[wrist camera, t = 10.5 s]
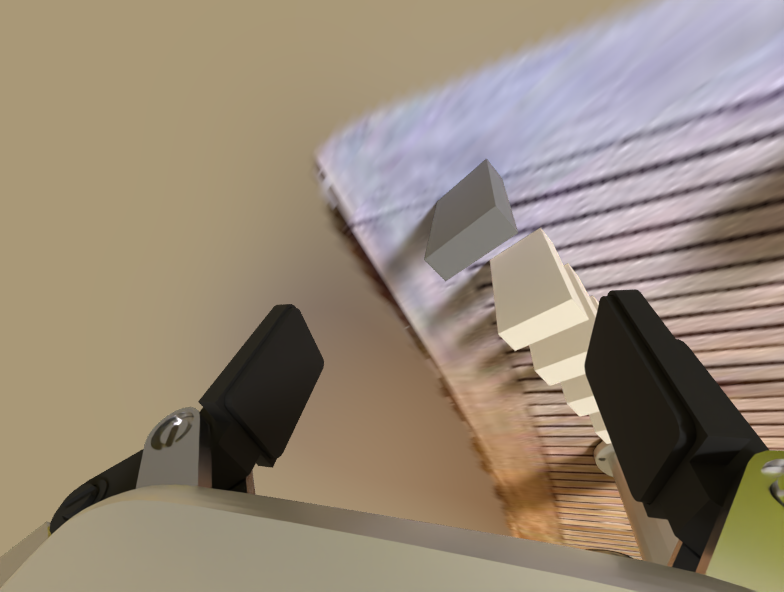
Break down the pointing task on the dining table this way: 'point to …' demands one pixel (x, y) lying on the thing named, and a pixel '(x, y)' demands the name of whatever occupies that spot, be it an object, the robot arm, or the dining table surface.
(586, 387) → the ivory domino
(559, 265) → the ivory domino
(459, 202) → the slate domino
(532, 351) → the ivory domino
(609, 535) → the dining table surface
